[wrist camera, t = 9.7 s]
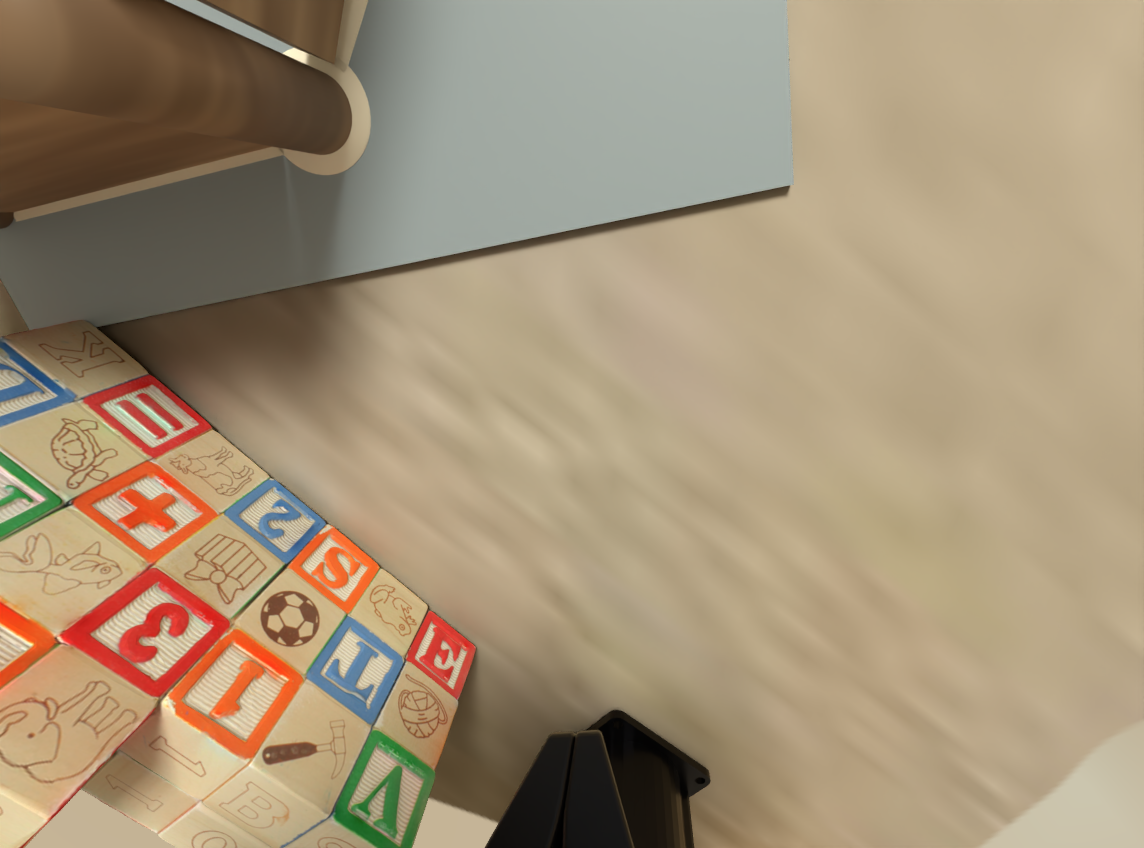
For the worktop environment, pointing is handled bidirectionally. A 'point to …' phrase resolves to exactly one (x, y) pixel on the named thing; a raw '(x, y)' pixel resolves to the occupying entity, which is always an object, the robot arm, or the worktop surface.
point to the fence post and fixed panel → (143, 97)
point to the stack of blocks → (195, 627)
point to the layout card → (436, 152)
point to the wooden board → (291, 21)
